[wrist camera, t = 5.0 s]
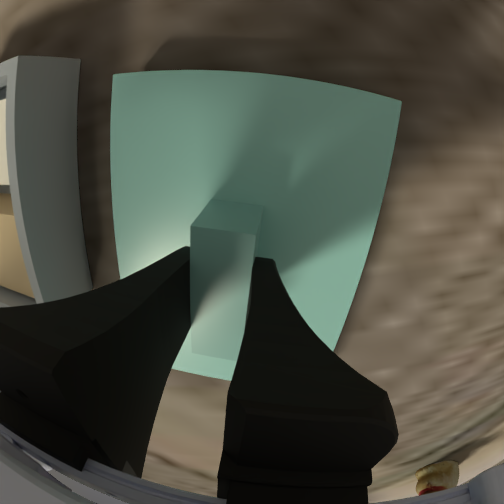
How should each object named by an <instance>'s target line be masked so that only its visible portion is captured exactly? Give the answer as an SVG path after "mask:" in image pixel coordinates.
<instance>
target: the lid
mask: <svg viewBox="0 0 504 504" xmlns="http://www.w3.org/2000/svg"><path fill="white" fill-rule="evenodd" d="M401 104H402V101H399V100H396V99H393V98H389V97H386V96H382V95H378V94H375V93H371V92H367V91H363V90H359V89H354V88H350V87H346V86H341V85H336V84H331V83H326V82H320V81H315V80H309V79H303V78H296V77H289V76H281V75H273V74H263V73H252V72H239V71H220V70H163V71H144V72H132V73H121V74H113V84H112V99H111V126H110V162H111V190H112V207H113V220H114V231H115V241H116V250H117V258H118V266H119V273H120V279H123V278H125V277H127V276H129V275H131V274H133V273H135V272H137V271H139V270H141V269H143V268H145V267H147V266H149V265H151V264H153V263H154V262H156V261H158V260H160V259H162V258H163V257H165V256H167V255H169V254H171V253H172V252H174V251H176V250H178V249H180V248H182V247H184V246H189V247H190V315H191V328H190V330H189V332H188V334H187V336H186V339H185V341H184V343H183V345H182V347H181V349H180V351H179V353H178V355H177V357H176V360H175V362H174V364H173V366H172V369H176V370H180V371H185V372H189V373H194V374H199V375H204V376H209V377H214V378H219V379H225V380H230V381H231V380H232V376H233V373H234V369H235V366H236V362H237V358H238V355H239V351H240V347H241V343H242V339H243V335H244V329H245V321H246V313H247V305H248V297H249V289H250V281H251V273H252V267H253V263H254V260H255V257H263V258H270V259H273V260H274V261H275V262H276V267H277V270H278V273H279V275H280V278H281V280H282V282H283V284H284V286H285V288H286V290H287V292H288V294H289V296H290V298H291V300H292V302H293V303H294V305H295V306H296V308H297V310H298V311H299V313H300V314H301V316H302V317H303V319H304V320H305V321H306V323H307V324H308V325H309V327H310V328H311V329H312V330H313V332H314V333H315V334H316V335H317V336H318V337H319V338H320V339H321V340H322V341H323V342H324V343H325V344H326V345H327V346H328V347H329V348H330V349H331V350H332V351H334V348H335V346H336V343H337V341H338V338H339V336H340V333H341V330H342V328H343V325H344V323H345V320H346V317H347V314H348V312H349V309H350V306H351V303H352V300H353V298H354V295H355V292H356V289H357V286H358V283H359V280H360V277H361V274H362V271H363V267H364V264H365V261H366V258H367V254H368V251H369V248H370V244H371V241H372V237H373V234H374V230H375V227H376V223H377V219H378V216H379V212H380V208H381V204H382V200H383V196H384V192H385V188H386V183H387V179H388V174H389V170H390V165H391V160H392V156H393V151H394V145H395V140H396V135H397V129H398V123H399V117H400V111H401Z"/></svg>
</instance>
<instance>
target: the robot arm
mask: <svg viewBox="0 0 504 504" xmlns="http://www.w3.org/2000/svg"><path fill="white" fill-rule="evenodd" d="M190 328H191V315H190V247H189V246H184V247H182V248H180V249H178V250H176V251H174V252H172V253H171V254H169V255H167V256H165V257H163V258H162V259H160V260H158V261H156V262H154V263H153V264H151V265H149V266H147V267H145V268H143V269H141V270H139V271H137V272H135V273H133V274H131V275H129V276H127V277H125V278H123V279H120V280H118V281H116V282H113V283H111V284H108V285H106V286H103V287H100V288H98V289H95V290H92V291H88V292H85V293H82V294H78V295H75V296H71V297H68V298H64V299H59V300H55V301H50V302H44V303H39V304H32V305H23V306H13V307H1V308H0V504H97V503H95V502H93V501H90V500H88V499H86V498H84V497H82V496H80V495H78V494H76V493H74V492H72V490H71V489H69V488H68V487H67V486H65V485H64V484H62V483H61V482H60V481H58V480H57V479H56V478H54V477H53V476H52V475H51V474H49V473H48V472H47V471H49V470H52V469H55V470H56V471H58V472H60V473H62V474H64V475H65V476H67V477H69V478H71V479H74V480H75V481H78V482H80V483H81V484H83V485H86V486H88V487H90V488H92V489H94V490H97V491H99V492H101V493H104V494H106V495H108V496H111V497H113V498H116V499H118V500H121V501H124V502H127V503H129V504H368V491H367V486H370V485H371V483H372V471H371V468H373V467H374V466H375V465H376V464H377V463H378V462H379V461H380V460H381V459H382V458H384V457H385V456H386V455H387V454H388V453H389V452H390V450H391V449H392V448H393V447H394V445H395V444H396V443H397V439H398V435H399V434H398V429H397V424H396V419H395V415H394V412H393V408H392V406H391V403H390V400H389V398H388V394H387V392H386V391H385V390H383V389H382V388H380V387H379V386H377V385H376V384H374V383H373V382H371V381H370V380H368V379H367V378H365V377H364V376H362V375H361V374H359V373H358V372H357V371H355V370H354V369H353V368H351V367H350V366H349V365H348V364H347V363H345V362H344V361H343V360H342V359H340V358H339V357H338V356H337V355H336V354H335V353H334V352H333V351H332V350H331V349H330V348H329V347H328V346H327V345H326V344H325V343H324V342H323V341H322V340H321V339H320V338H319V337H318V336H317V335H316V334H315V333H314V332H313V330H312V329H311V328H310V327H309V325H308V324H307V323H306V321H305V320H304V319H303V317H302V316H301V314H300V313H299V311H298V310H297V308H296V306H295V305H294V303H293V302H292V300H291V298H290V296H289V294H288V292H287V290H286V288H285V286H284V284H283V282H282V280H281V278H280V275H279V273H278V270H277V267H276V262H275V261H274V260H273V259H270V258H263V257H255V260H254V263H253V267H252V273H251V281H250V289H249V297H248V305H247V313H246V321H245V329H244V335H243V339H242V343H241V347H240V351H239V355H238V358H237V362H236V366H235V369H234V373H233V376H232V380H231V383H230V387H229V390H228V394H227V406H226V418H225V430H224V442H223V451H222V456H221V461H220V466H219V470H218V476H217V478H218V490H217V498H216V497H211V496H205V495H201V494H196V493H191V492H187V491H183V490H179V489H175V488H171V487H167V486H164V485H160V484H157V483H154V482H150V481H147V480H144V479H141V477H142V472H143V467H144V462H145V457H146V452H147V448H148V444H149V440H150V436H151V432H152V428H153V424H154V420H155V417H156V413H157V410H158V407H159V403H160V400H161V397H162V394H163V390H164V387H165V384H166V381H167V378H168V376H169V373H170V371H171V368H172V366H173V364H174V362H175V360H176V357H177V355H178V353H179V351H180V349H181V347H182V345H183V343H184V341H185V339H186V336H187V334H188V332H189V330H190ZM369 504H504V463H502V464H499V465H497V466H494V467H492V468H489V469H487V470H485V471H483V472H482V473H480V474H479V475H477V476H476V477H474V478H473V479H472V480H470V481H469V483H466V484H463V485H460V486H456V487H453V488H449V489H446V490H442V491H438V492H434V493H429V494H425V495H420V496H415V497H410V498H405V499H399V500H392V501H385V502H378V503H369Z"/></svg>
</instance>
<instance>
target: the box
mask: <svg viewBox="0 0 504 504" xmlns="http://www.w3.org/2000/svg"><path fill="white" fill-rule="evenodd" d="M80 63H81V59H75V58H64V57H50V56H16V57H13V58H11V59H9V60H6V61H4V62H2V63H0V308H1V307H13V306H23V305H32V304H39V303H44V302H50V301H55V300H59V299H64V298H68V297H71V296H75V295H78V294H82V293H85V292H88V291H90V290H91V289H92V288H93V285H92V280H91V275H90V270H89V264H88V258H87V252H86V246H85V239H84V232H83V224H82V215H81V206H80V195H79V182H78V163H77V103H78V86H79V73H80Z"/></svg>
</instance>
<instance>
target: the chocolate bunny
mask: <svg viewBox="0 0 504 504" xmlns="http://www.w3.org/2000/svg"><path fill="white" fill-rule="evenodd" d="M415 475H416V477H417V479H418V482H417V485H416V492H417V494H418V495H419V496H420V495H425V494H429V493H434V492H438V491H442V490H446V489H449V488H453V487H456V486H457V483H458V479H459V466H458V463H457V462H455V461H452V460H451V461H442V462H438V463H434V464H430V465H427V466H425V467H423V468H421V469H419V470H418V471H417V472H416V474H415Z"/></svg>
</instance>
